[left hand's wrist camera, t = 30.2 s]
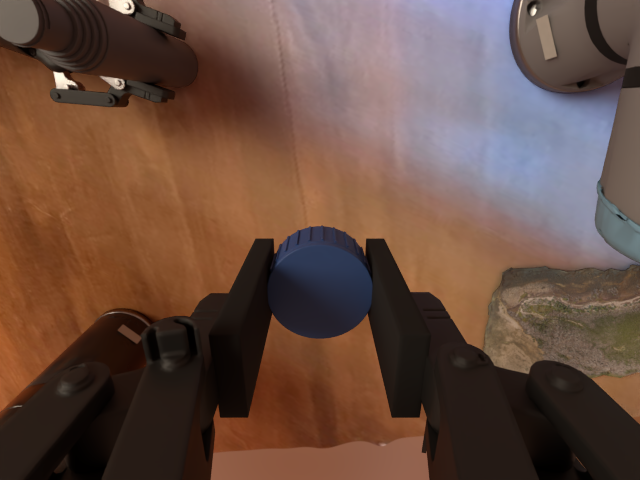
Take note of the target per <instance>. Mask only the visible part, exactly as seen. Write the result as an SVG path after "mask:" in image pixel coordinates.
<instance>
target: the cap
mask: <svg viewBox="0 0 640 480" xmlns="http://www.w3.org/2000/svg"><path fill="white" fill-rule="evenodd" d="M269 271H271V272H270V276H269V279H268V283H267V291H268V304H269V307H270V309H271V311H272V313H273V315H274V316H275V318H276V319H277V320H278V321H279V322H280V323H281V324H282V325H283V326H284V327H286V328H287V329H289V330H290V331H292V332H294V333H296V334H298V335H301V336H304V337H309V338H331V337H336V336H339V335H342V334H344V333H346V332H348V331H350V330H351V329H353V328H354V327H356V326H357V325H358V324H359V323H360V322H361V321H362V320H363V319H364V317H365V316H366V315H367V313H368V311H369V309H370V307H371V301H372V285H373V282H372V278H371V270H370V267H369V264H368V261H367V258H366V257H365V255H364V252H363V249H362V247H360V246H359V245H358V244H357V242H356V240H355V239H353V238H352V237H350V236H349V235H348V234H346V232H342V231H340V230H337V229H335V228H334V227H333V228H331V227H324V226H316V227H311V226H310V227H309V228H305V229H302V230H298V231H297V232H296V233H294V234H292V235H291V236H288V237H287V239H286V240H285V241H284V242H283V243H282V244H280V245H279V249H278V251H277V253H275V254H274V257H273V260H272V264H271V267H270V270H269Z"/></svg>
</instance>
